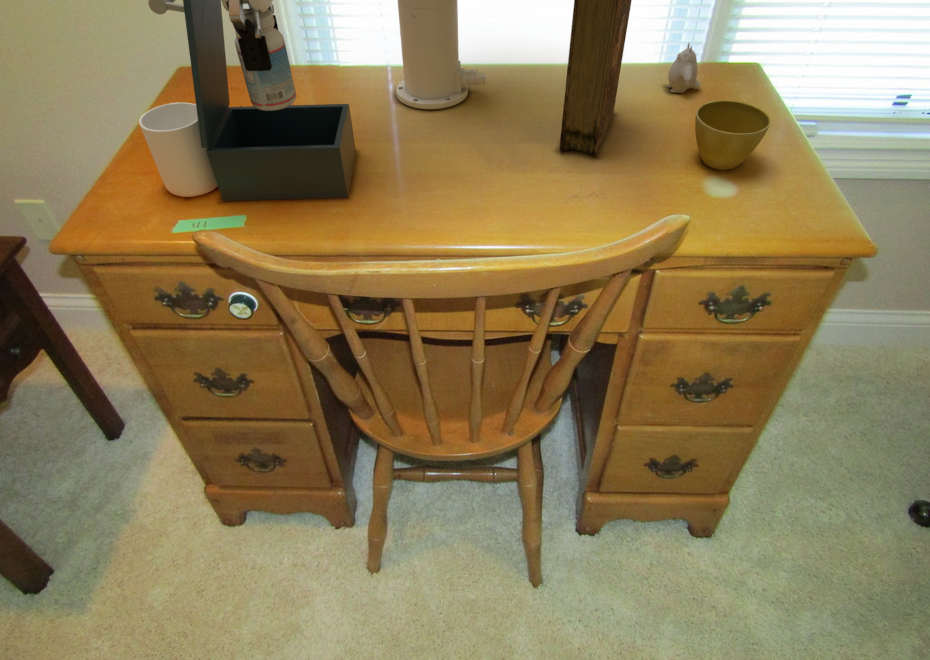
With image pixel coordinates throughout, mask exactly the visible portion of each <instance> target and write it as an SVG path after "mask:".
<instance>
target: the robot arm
mask: <svg viewBox="0 0 930 660" xmlns="http://www.w3.org/2000/svg"><path fill="white" fill-rule="evenodd" d="M273 1H274V0H221V4H222V6H223V9H225V11H227V12H228V17H229V18H228V19H229V21H230V22H231V24H232V26H233V29H234V30H235V38H236V37H237V39H238V43H239V46H240V50H241V54H242V58H243V62H244V66H245V69H246V70H247V71H269V70H271V68H272V64H271V60H270V56H269V51H268V47H267V43H266V38H265V36H262V33H261V26H260V18H259V11H258V10H259V9H260V11H261V12H265V11H266V10H267V9H269V10H271V11H272V13H273V18H274V21H275V22H274V27H273V28H275V29H277V30H278V31H280V30H279V26H278V22H277V21H278V20H277V17H276V16H277V15H276V14H275V6H274V3H273ZM244 5H247V6H248V8H244ZM458 5H459V4H458V0H397V10H398V11H397V12H398V21H399V33H400V34H399V35H400V47H401V58H402V69H403V79H402V80H401V81H399V83H398V84H397V85H396V88H395V93H396V98H397V99H398V101H400V102H401V103H402V104H404V105H406V106H408V107H410V108H415V109H419V110H440V109H441V110H442V109H445V108H450V107H453V106H456V105H458V104H460V103H462V102H463V101H464V100H465V99H466V98H467V96H468V94H469V86H475V87H476V86H477V87H479V86H486V73H479V71H478V70H479V69H478V68H475V69H474V68H472V69H471V68H470V69H465V67H461V66H462V65H461V60H459V59H460V58H459V55H460V54H459V20H458V19H459V14H458V13H459V12H458V10H459V8H458ZM249 8H252V9H249ZM245 15H252V19H253V24H252V23H251V21H250V20H249V19H246V18H245Z"/></svg>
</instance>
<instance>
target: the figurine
mask: <svg viewBox="0 0 930 660" xmlns="http://www.w3.org/2000/svg"><path fill="white" fill-rule="evenodd" d="M697 60H698V59H697V54H696V52H695V51H694V50H693V47H692V46H690V42H688V43H687V46H686V48H685V49H683V51H681V52H679V53H678V54H677V56H676V59H675V60H674V61H673V62H672V64H671V66H670V67H669V70H668V74H667V80H668V85H667V87H666V88H670V89H669V90H668V92H669V93H675V94H676V93H678V94H682V93H685V92H686V91H688V90H689V89H692V90H698V89H700V87H701V82H700V81H698V80H697V79H698V78H697V77H698V74H699V73H698V72H699V71H698V61H697Z"/></svg>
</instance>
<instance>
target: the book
mask: <svg viewBox="0 0 930 660" xmlns="http://www.w3.org/2000/svg"><path fill="white" fill-rule="evenodd" d="M631 6H632V0H573V8H572V9H573V10H572V19H571V28H570V29H571V30H570V40H569V48H568V59H567V70H566V80H565V90H564V99H563V110H562V120H561V128H560V129H561V130H560V139H559V151H561V152H564V151H578V152H582V153H586V154H588V155H590V156H592V157H596V156H597V154H598V152H599V149H600V147H601V145H602V142H603V140H604V137H605V136H606V133H607V131H608V129H609V125H610V123H611V121H612V119H613V116H614V113H615V105H616V99H617V93H618V88H619V87H618V86H619V81H620V74H621V68H622V62H623V56H624V51H625V44H626V37H627V30H628V25H629V18H630V13H631Z"/></svg>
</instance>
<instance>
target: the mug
mask: <svg viewBox="0 0 930 660" xmlns="http://www.w3.org/2000/svg"><path fill="white" fill-rule="evenodd" d="M138 124H139V127H140V129H141V131H142V134H143V137H144V139H145V141H146V144H147V146H148V149H149V151H150V154H151V157H152V159H153V161H154V164H155V167H156V168H157V171H158V173H159V176H160V179H161V181H162V183H163V185H164V187H165V189H166V190H167V191H168V192H169V193H171V194H172V195H175V196H176V197H181V198H182V197H183V198H193V197H198V196H202V195H205V194H209V193H210V192H212V191H214V190H216V188H218V186H217V183H216V180H215V177H214V174H213V171H212V168H211V165H210V162H209V159H208V156H207V153H206V150H207V148H202V147H201V140H200V132H199V124H198V116H197V108H196V103H191V102H183V101H181V102H170V103H165V104H161V105H158V106H155V107H153V108H151V109H149V110H147V111H146V112H144V113H143V114H141V116H140V117H139V120H138Z"/></svg>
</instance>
